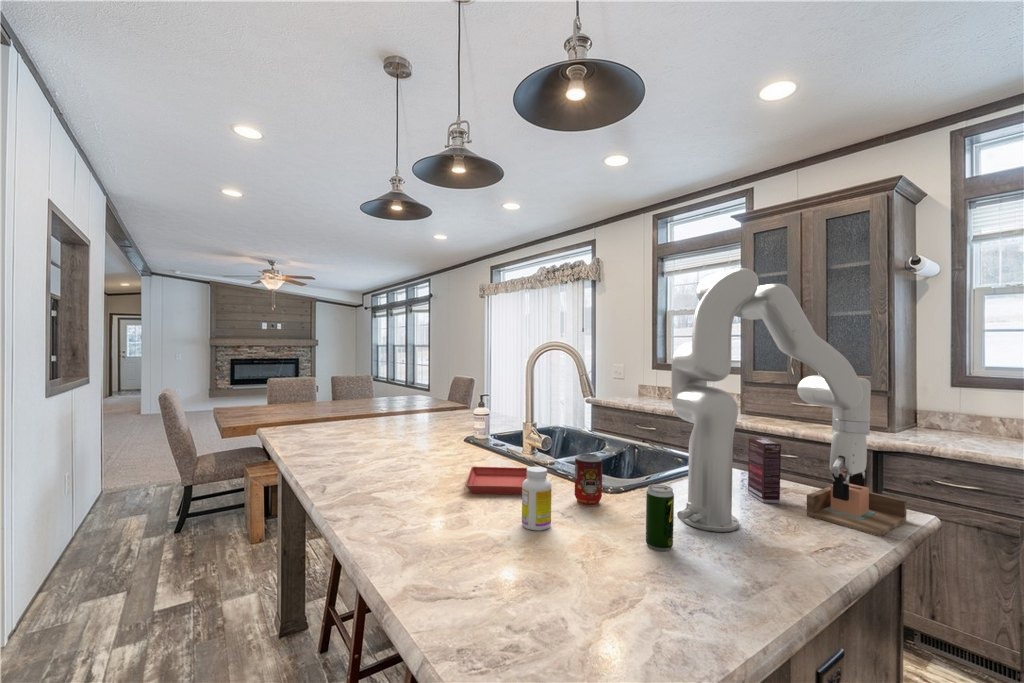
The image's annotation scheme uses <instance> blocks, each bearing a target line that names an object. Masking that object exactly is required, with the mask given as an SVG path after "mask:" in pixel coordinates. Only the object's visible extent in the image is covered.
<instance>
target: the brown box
mask: <svg viewBox="0 0 1024 683" xmlns="http://www.w3.org/2000/svg"><path fill="white" fill-rule="evenodd" d="M847 484H849V482H848V483H847ZM830 486H831V510H834V511H838V512H842V513H846V514H849V515H853V516H857V517H860V516H862V515H864V514H866V513H868V512H869V492H870V488H869V487H868V486H867V487H866V486H865V487H863V486H858V485H854V484H849V500H848V501H844V500H841V499H837V498H834V497H833V484H831V485H830Z"/></svg>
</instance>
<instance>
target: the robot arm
mask: <svg viewBox="0 0 1024 683" xmlns="http://www.w3.org/2000/svg"><path fill="white" fill-rule="evenodd" d="M759 283H760V282H759V277H758V275H757V273H756V272H755V271H754V270H752V269H751V268H750V269H749V268H745V267H741V268H740V267H738V268H737V267H736V268H733V269H728V270H724V271H721V272H717V273H713V274H710V275H706V276H705V277H704V278H702V279H701V280H700V281H699V283H698V284H697V287H696V296H697V299H698V301H699V302H698V305H697V307H696V309H695V311H694V315H693V320H692V333H691V337H692V338H691V341H688V342H685V343H682V344H681V345H680V346H679V347H678V348H677V349H676V350H675V351H674V353H673V356H672V360H671V389H670V390H671V405H672V408H673V411H674V413H675V414H676V415H677V416H678V417H679V418H680V419H681V420H683V421H685V422H688V423H691V424H693V428H692V430H691V433H690V436H689V442H688V471H687V472H688V476H687V477H688V478H687V479H688V480H687V481H688V482H687V484H688V485H687V502H686V505H685V506H686V507H685V509H682V510H679V511H677V514H676V516H677V519H679V520H680V521H682V522H684V523H685V524H687V525H689V526H690V527H693V528H696V529H699V530H703V531H709V532H717V533H726V532H728V533H729V532H733V531H735V530H737V529H739V526H740V521H739V520H738V518H737V517H736V516H734V515H733V511H732V509H733V507H732V506H733V504H732V503H733V466H734V465H733V463H734V462H733V460H734V458H733V451H734V448H733V446H734V436H735V430H736V425H737V421H738V414H739V408H738V404H737V401H736V400H735V398H734V397H733V396H732V394H730V393H729V392H727V391H725V390H723V389H720V388H718V387H713V386H708V382H711V383H712V382H713V383H715V382H720V381H723V380H724V381H725V379H726V378H728V376H729V375H730V373H731V369H732V334H733V333H732V331H733V330H732V329H733V322H734V319H735V317H737V318H741V319H745V320H751V321H752V320H753V321H754V320H762V321H763V323H764V325H765V326H766V329H767V330H768V333H769V335H771V337H772V339H773V341H774V343H775V345H776V346H777V349H779V351H780V352H782V353H783V354H785V355H786V356H789V357H790V358H793V359H794V360H797V361H799V362H801V363H802V364H805V365H807V366H808V367H810V368H812V370H814V371H815V372H816V373H818V375H817V374H813V375H812V374H811V375H808V376H805V377H804V378H802V379H801V380H800V381H799V382H798V383H797V388H796V389H797V390H796V391H797V394H798V396H799V397H800V399H801V400H802V401H803V402H805V403H807V404H810V405H813V406H820V407H826V408H831V409H832V423H831V431H832V432H833V434H832V439H831V444H830V445H831V446H830V457H829V470H830V472H832V474H831V475H832V485H833V497H834V498H837V499H841V500H844V501H848V500H849V484H854V485H858V486H863V487H866V472H865V471H866V470H867V465H868V464H867V463H868V460H867V459H868V453H867V452H868V448H867V447H868V446H867V436H870V433H871V432H870V429H871V428H870V427H871V426H870V425H871V423H870V422H871V396H872V395H871V394H872V393H871V392H872V391H871V389H872V387H871V386H872V385H871V382H870V380H869V379H867V378H864V377H859V376H858V375H857V372H856V371H855V369H854V367H853V366H852V364H851V363H850V362H849V360H848V359H847V358H846V357H845V356H844V355H843V354H842V353H841V352H839V350H837V349H836V348H834V347H833V346H832V345H831V344H829V343H828V342H827V341H826V340H824V339H822V338H821V337H820V336H819V335H818V334H817V333H816V332H815V330H814V328H813V326H812V325H811V323H810V321H809V319H808V318H807V316H806V314H805V312H804V309H803V308H802V306H801V305H800V303H799V301H798V299H797V298H796V295H795V293H794V292H793V291H792V289H791V288H790V287H789V286H787V285H786V284H784V283H768V284H762V285H761V284H760V285H759ZM847 483H849V484H847Z"/></svg>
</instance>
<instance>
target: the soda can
mask: <svg viewBox="0 0 1024 683" xmlns="http://www.w3.org/2000/svg"><path fill="white" fill-rule="evenodd" d="M574 461H575V462H574V497H575V498H576V502H577V504H578V503H579V504H578V505H581V506H585V507H595V506H598V505H599V504H600V501H601V500H602V497H603V458H602V457H600V455H597V454H595V453H590V452H589V453H588V452H585V453H579V454H577V456H576V457H575V458H574Z"/></svg>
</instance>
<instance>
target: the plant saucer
mask: <svg viewBox="0 0 1024 683" xmlns="http://www.w3.org/2000/svg"><path fill="white" fill-rule="evenodd" d="M527 468H528V467H506V466H504V467H501V466H500V467H499V466H495V467H494V466H472V467H470V469H469V470H470V471H469V473H468V476H467V480H466V482H465V487H466V488H467V489H468V491H469V492H470V493H471V494H480V495H481V494H487V495H488V494H489V495H490V494H491V495H493V494H494V495H495V494H496V495H522V483H523V481H524V480H525V479H527V478H528V476H527Z"/></svg>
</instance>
